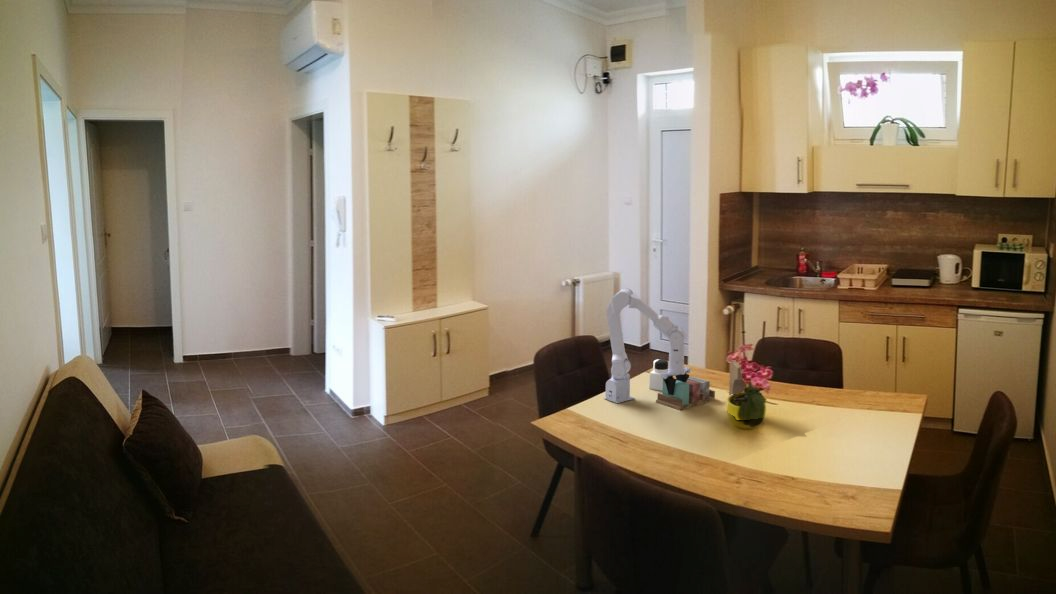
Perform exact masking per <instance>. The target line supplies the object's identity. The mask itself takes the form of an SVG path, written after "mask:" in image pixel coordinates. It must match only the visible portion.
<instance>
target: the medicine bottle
mask: <svg viewBox="0 0 1056 594" xmlns="http://www.w3.org/2000/svg"><path fill="white" fill-rule="evenodd" d="M667 370H669V360H666V359H662V358H660V359H658V358H657V359H655V360H653V367H652V371H650V372H649V375H648V377H649V379H648V380H649V381H648V382H649V383H648V384H649V386H648V389H649V390H653V391H654V390H655V391H662V390H663V378H661V373H664V372H665V371H667Z"/></svg>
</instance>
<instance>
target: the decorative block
mask: <svg viewBox="0 0 1056 594" xmlns="http://www.w3.org/2000/svg"><path fill="white" fill-rule="evenodd" d="M736 360H737V359H731V360H730V362H729V363H732V364H730V365H729V368H730V369H729V386H728V387H729V388H728V389H729V391H728V396H729V395H731V394H735V393H741V392H743V391H744V389H745V387H746V384H745V382H744V381H743V379H742V374H741V372H740V371H741V370H740V366H739V363H738V362H736ZM731 361H733V362H731Z"/></svg>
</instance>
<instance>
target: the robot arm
mask: <svg viewBox="0 0 1056 594" xmlns="http://www.w3.org/2000/svg"><path fill="white" fill-rule="evenodd" d="M626 307H628V309H636V310H638V311H639V312H640V313H642V314H643V315H644V316H646V317H647V318H648V319H650V320H651V322H652V323H653V326H654V328H655V329H656V330H658V331H659V332H660V333H661V334H663V336H665V337H666V338H667V339H668V342H669V349H668V370H667V371H665V372H664V373H661V378H663V380H664V382H665V384H666V387H667V391H668V394H669V395H673V394H674V387H675V383H676V380H678V381H682V382H685V383H686V381H687V380H688V378H689V377H690V374H689V373H691V367H689V366H685V339H686V332H685V330H684V329H683V327H679V325H678V324H675V323H674V322H673V321H671V320H670V317H669V316H668V315H664V314H658V312H656V310H654V309H653V308H652V307H651V306H650V305H649V304H648V303H646V302H645V300H643V299H642V298H641V297H640V296H639V295H638V293H636V292H633V290H632V289H630V288H627V287H625V288H622V289H620V290H619V291H618V292H616V293H615V294H614V295H613V296H612V297H611V298H610V302H609V303H608V305H607V308H606V311H605V313H606V320H607V325H608V333H609V340H610V347H611V351H612V357H611V368H610V373H611V377H610V379H608V380H607V381H606V382H605V396H604V397H603V398H604V399H605V400H607V401H609V402H610V401H611V402H612V403H615V404H621V403H623V402H627V401H631V400H635V396H631V395H630V394H631V391H630V390H631V389H630V388H631V375H630V373H629V372H630V370H631V368H632V365H631V364H632V363H631V362H630V360H629V359H628V354H627V353H626V349H625V342H624V335H623V328H622V323H621V321H622V320H621V317H620V314H621V312H622V311H623V309H625V308H626ZM674 377H675V378H674Z"/></svg>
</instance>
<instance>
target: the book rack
mask: <svg viewBox="0 0 1056 594" xmlns="http://www.w3.org/2000/svg"><path fill="white" fill-rule="evenodd" d="M686 383H689V404H686V405H683V406H682V402H683V401H682V400H679V399H676V398H673V397H670V396H667V395H664V394H662V392H661V393H660V392H658V393H657V399H655V403H656V404H659V405H663V406H666V407H669V408H671V409H675V410H678V411H681V410H685V409H689V408H691V407H695V406H698V405H702V404H704V403H705V404H706V403H708V402H711V401H714V400H715V399H716V391H715V390H713V389H710V384H711V381H710V380H707V379H703V378H701V377H696V376H693V375H692V376H689V378H688V380H687V381H686Z"/></svg>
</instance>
